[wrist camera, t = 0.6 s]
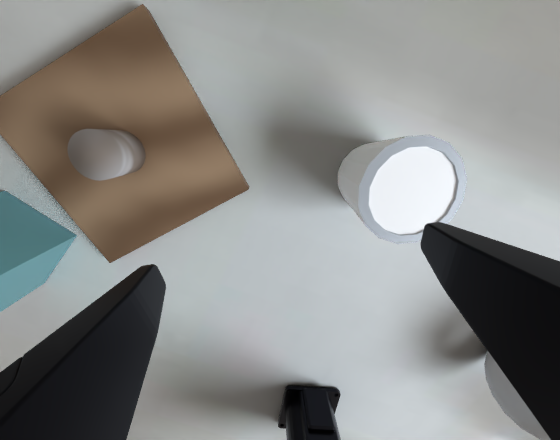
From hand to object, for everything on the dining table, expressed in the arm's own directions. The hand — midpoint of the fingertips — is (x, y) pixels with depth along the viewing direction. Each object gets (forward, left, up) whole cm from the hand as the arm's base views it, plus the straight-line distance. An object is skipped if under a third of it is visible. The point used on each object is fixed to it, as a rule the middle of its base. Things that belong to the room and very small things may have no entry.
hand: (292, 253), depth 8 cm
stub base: (+1, +12, -14) cm, 18 cm away
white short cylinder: (+2, -8, -14) cm, 16 cm away
